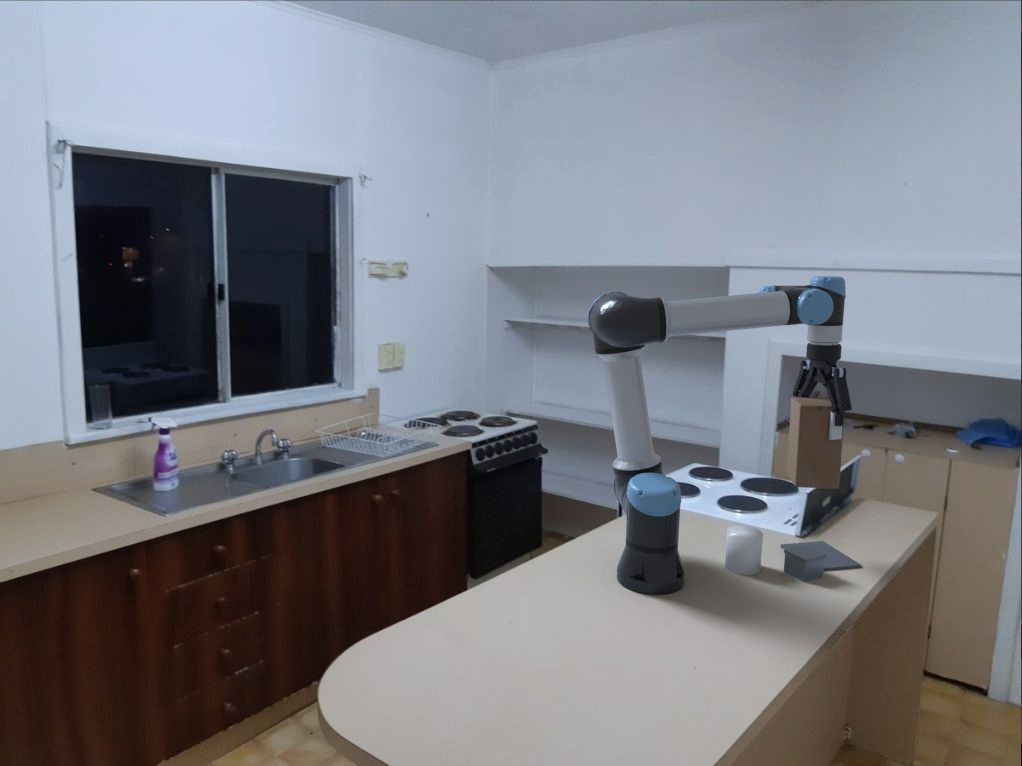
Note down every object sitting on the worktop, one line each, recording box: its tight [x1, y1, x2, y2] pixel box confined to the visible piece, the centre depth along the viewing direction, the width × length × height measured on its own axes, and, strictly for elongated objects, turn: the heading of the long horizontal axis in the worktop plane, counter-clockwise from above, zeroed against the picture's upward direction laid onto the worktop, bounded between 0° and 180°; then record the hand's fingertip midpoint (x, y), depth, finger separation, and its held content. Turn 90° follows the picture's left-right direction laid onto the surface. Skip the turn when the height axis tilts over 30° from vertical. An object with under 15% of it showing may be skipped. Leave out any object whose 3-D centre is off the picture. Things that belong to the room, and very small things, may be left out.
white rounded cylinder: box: [724, 525, 764, 576], centre depth 174 cm, size 8×8×9 cm
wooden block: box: [786, 396, 845, 490], centre depth 177 cm, size 10×10×20 cm
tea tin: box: [783, 545, 826, 583], centre depth 170 cm, size 6×6×6 cm
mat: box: [780, 540, 862, 572], centre depth 181 cm, size 12×15×1 cm
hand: (818, 432), depth 176 cm, fingers closed on wooden block, 12 cm apart
